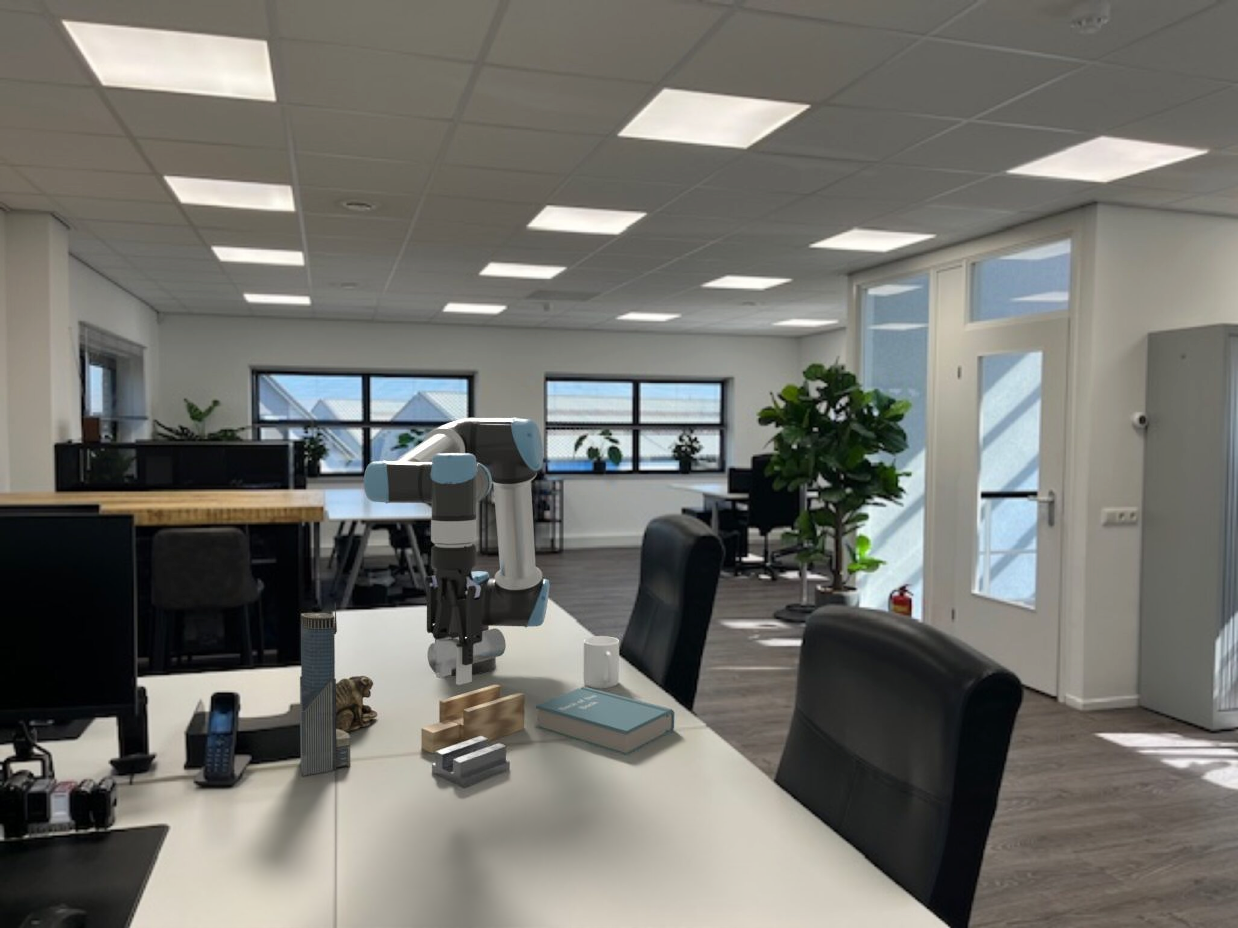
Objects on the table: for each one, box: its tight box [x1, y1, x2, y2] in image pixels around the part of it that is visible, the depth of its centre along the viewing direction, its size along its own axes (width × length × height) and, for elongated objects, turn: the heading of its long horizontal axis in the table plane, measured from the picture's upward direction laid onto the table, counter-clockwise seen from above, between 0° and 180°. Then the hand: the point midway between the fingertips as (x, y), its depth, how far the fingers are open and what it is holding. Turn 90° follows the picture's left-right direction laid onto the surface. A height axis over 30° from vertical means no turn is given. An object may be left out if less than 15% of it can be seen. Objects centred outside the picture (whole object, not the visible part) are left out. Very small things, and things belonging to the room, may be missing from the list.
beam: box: [420, 684, 526, 755], centre depth 164 cm, size 20×9×7 cm, turn 138°
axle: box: [427, 627, 507, 674], centre depth 146 cm, size 13×5×5 cm, turn 138°
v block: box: [431, 736, 511, 788], centre depth 147 cm, size 10×9×4 cm
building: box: [299, 603, 351, 777], centre depth 148 cm, size 10×9×30 cm
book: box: [535, 686, 675, 756], centre depth 169 cm, size 23×16×5 cm
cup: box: [582, 635, 620, 689], centre depth 196 cm, size 8×12×10 cm
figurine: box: [336, 675, 379, 732], centre depth 167 cm, size 6×14×10 cm, turn 137°
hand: (453, 678), depth 144 cm, fingers closed on axle, 5 cm apart
